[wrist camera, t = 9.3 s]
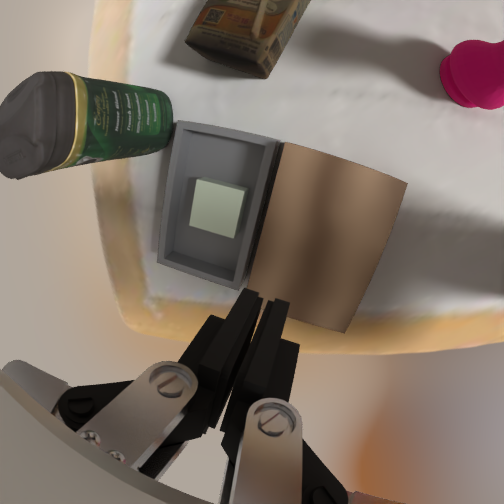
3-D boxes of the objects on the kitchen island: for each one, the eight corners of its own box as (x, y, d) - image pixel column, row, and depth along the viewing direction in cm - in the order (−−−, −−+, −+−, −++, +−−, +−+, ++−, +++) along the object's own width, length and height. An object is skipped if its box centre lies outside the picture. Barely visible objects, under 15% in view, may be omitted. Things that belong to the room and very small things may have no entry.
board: (392, 176, 25) (407, 183, 21) (342, 307, 32) (344, 333, 27) (290, 142, 26) (285, 141, 22) (253, 280, 33) (242, 303, 28)
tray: (280, 140, 27) (276, 139, 24) (245, 278, 33) (238, 290, 30) (190, 121, 28) (177, 120, 25) (168, 253, 34) (157, 262, 31)
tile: (196, 179, 27) (204, 176, 29) (189, 225, 29) (196, 220, 31) (244, 191, 27) (249, 188, 28) (233, 238, 29) (238, 232, 30)
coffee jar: (175, 84, 26) (42, 51, 9) (178, 150, 29) (41, 172, 12) (110, 102, 28) (-16, 101, 12) (113, 160, 31) (-13, 191, 14)
